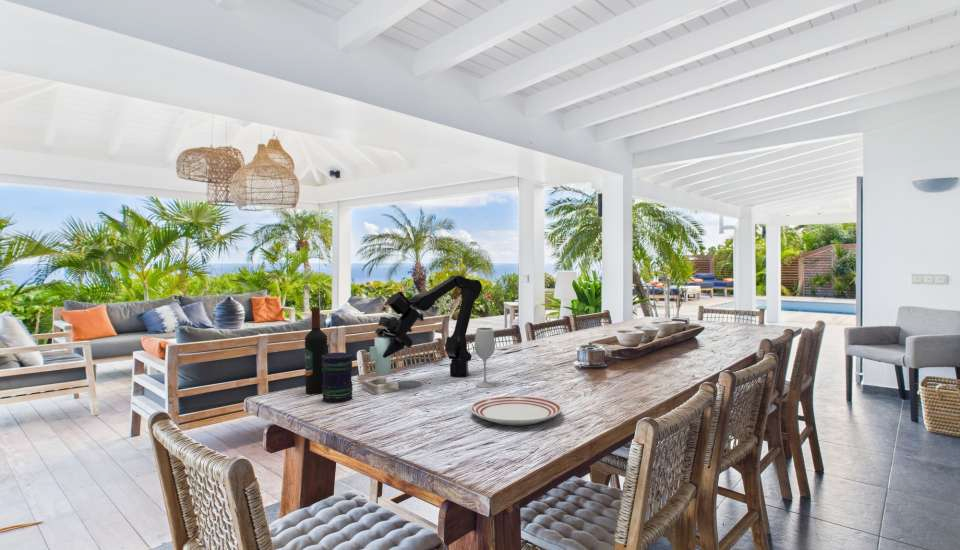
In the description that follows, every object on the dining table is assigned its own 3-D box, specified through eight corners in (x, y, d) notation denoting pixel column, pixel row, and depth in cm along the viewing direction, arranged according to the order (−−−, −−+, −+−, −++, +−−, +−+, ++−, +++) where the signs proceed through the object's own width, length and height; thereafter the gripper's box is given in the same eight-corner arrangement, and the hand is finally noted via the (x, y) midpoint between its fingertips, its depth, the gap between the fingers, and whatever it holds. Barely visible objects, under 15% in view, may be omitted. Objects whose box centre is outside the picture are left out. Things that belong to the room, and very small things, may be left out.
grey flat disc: (425, 382, 196) (425, 381, 196) (416, 389, 185) (416, 388, 185) (397, 380, 198) (397, 379, 198) (387, 387, 187) (387, 386, 187)
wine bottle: (324, 394, 179) (322, 308, 178) (302, 394, 179) (301, 308, 178) (330, 388, 186) (329, 306, 185) (310, 388, 186) (308, 306, 185)
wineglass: (472, 386, 188) (471, 329, 188) (478, 382, 196) (477, 327, 195) (491, 388, 186) (491, 330, 185) (497, 383, 193) (497, 327, 193)
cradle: (384, 385, 191) (384, 377, 191) (398, 390, 183) (398, 382, 183) (361, 389, 185) (361, 381, 185) (375, 395, 177) (375, 386, 177)
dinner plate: (457, 409, 161) (457, 398, 161) (535, 400, 171) (535, 390, 171) (489, 437, 136) (489, 424, 136) (579, 425, 145) (579, 413, 145)
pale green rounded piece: (386, 371, 189) (385, 336, 188) (393, 373, 185) (393, 337, 184) (367, 374, 184) (366, 338, 183) (374, 377, 180) (373, 340, 179)
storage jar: (345, 393, 179) (344, 351, 179) (357, 399, 172) (357, 355, 171) (317, 398, 173) (316, 354, 172) (329, 405, 165) (328, 359, 165)
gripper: (379, 306, 194) (352, 338, 187) (405, 310, 179) (377, 345, 173) (397, 325, 199) (372, 357, 192) (424, 330, 185) (398, 365, 178)
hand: (379, 356), depth 184 cm, fingers closed on pale green rounded piece, 6 cm apart
